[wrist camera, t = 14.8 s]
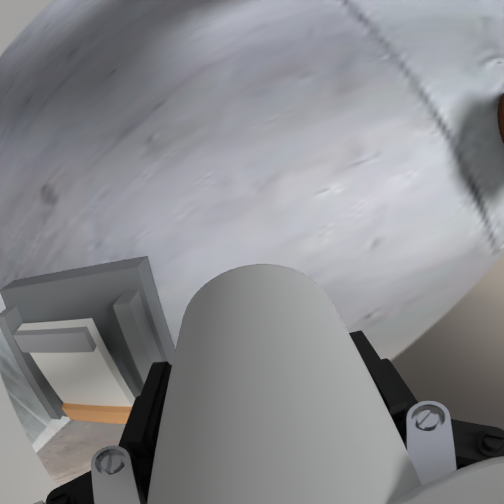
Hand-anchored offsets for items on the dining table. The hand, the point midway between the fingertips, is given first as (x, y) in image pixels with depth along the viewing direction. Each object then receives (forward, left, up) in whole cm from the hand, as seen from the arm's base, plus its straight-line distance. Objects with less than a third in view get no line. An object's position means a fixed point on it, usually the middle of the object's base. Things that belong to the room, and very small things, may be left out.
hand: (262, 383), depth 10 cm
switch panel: (+8, -18, -17) cm, 26 cm away
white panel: (+8, -18, -12) cm, 23 cm away
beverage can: (-1, 0, -3) cm, 3 cm away
